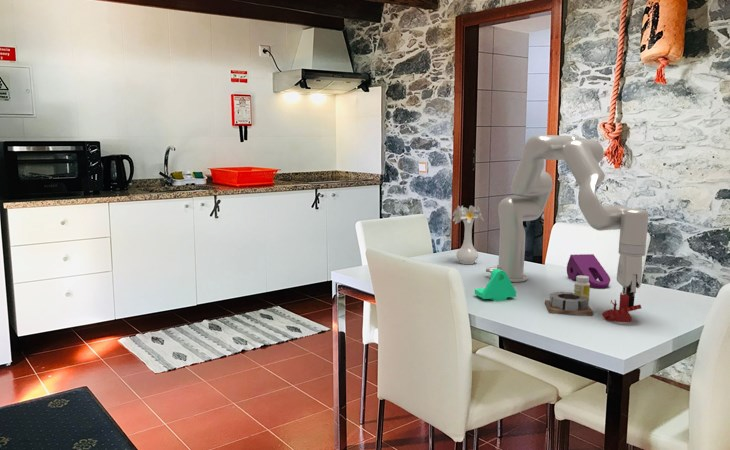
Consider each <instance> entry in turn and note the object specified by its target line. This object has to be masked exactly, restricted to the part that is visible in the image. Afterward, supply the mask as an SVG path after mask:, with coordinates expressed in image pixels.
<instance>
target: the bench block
mask: <svg viewBox="0 0 730 450" xmlns="http://www.w3.org/2000/svg"><path fill="white" fill-rule="evenodd" d="M544 306H545V307H546V310H547V311H548V313H549V314H557V315H558V314H559V315H573V316H574V315H575V316H577V315H578V316H591V317H592V316H594V311H593V310H592V308H591V307H590V305H589V304H588V309H586V310H582V311H566V310H561V309H557V308H554V307H552V306H550V304H549V299H545V300H544Z"/></svg>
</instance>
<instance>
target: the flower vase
mask: <svg viewBox="0 0 730 450" xmlns="http://www.w3.org/2000/svg"><path fill="white" fill-rule="evenodd" d="M451 217H453V218H452V222H454V225H456V224H458V223H461V221H462V222H463V224H464V234H463V235H464V237H463V243H462V245H461V246H460V248H458V250H457V252H456V254H455V255H456V256H455V257H456V258H457V260H458V261H459V263H460V264H463V265H473V264H475V261H477V260H478V258H479V252H478V251H477V249H475V248H474V245H473V237H472V236H473V235H472V234H473V231H472V230H473V225H474V221H475V220H476V221H477V220H479V219H480V220H481V221H482V222H485V221H484V220H485V219H484V217H483V215H482V211H481V209H480V207H479V206H477V208H476V206H473V205H469V207H468V208H467V207H464V205H461V206H460V205H457V207H456V209H454V211H453V213H452V214H451Z"/></svg>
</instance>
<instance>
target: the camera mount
mask: <svg viewBox="0 0 730 450" xmlns="http://www.w3.org/2000/svg"><path fill="white" fill-rule="evenodd" d="M498 276H499V277H498ZM512 283H513V282H511V281H510V280H509V278H508V276H507V274H506V273H505V272H504V271H502V270H500V269H494V270H493V271H492V272H491V273H490V279H489V281H488V282H487V284H486V286H485V287H483V288H482V287H481V288H474V294H475V296H478V297H480V298H481V299H483V300H491V301H493V302H499V301H507V299H508V298H516V297H517V291H516V289H515V288H514V285H513V284H512Z"/></svg>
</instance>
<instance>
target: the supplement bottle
mask: <svg viewBox="0 0 730 450" xmlns="http://www.w3.org/2000/svg"><path fill="white" fill-rule="evenodd" d="M590 289H591V286H590V283H589V277H588V276H582V275H579V276H576V280H575V282H574V290H573V293H578V294H582V295H587V298H588V299H589V300H590Z"/></svg>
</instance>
